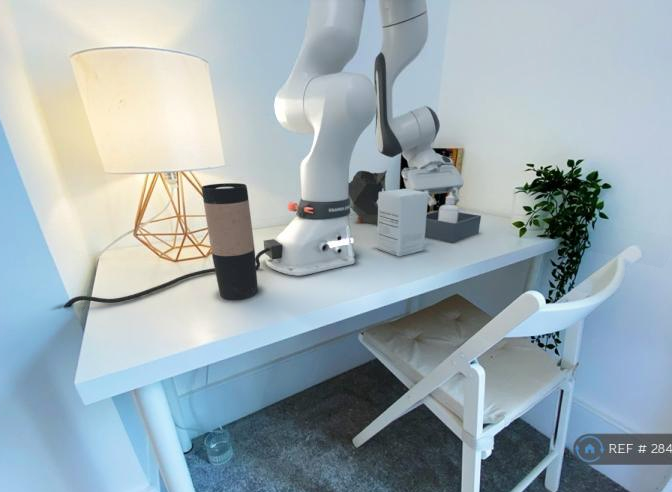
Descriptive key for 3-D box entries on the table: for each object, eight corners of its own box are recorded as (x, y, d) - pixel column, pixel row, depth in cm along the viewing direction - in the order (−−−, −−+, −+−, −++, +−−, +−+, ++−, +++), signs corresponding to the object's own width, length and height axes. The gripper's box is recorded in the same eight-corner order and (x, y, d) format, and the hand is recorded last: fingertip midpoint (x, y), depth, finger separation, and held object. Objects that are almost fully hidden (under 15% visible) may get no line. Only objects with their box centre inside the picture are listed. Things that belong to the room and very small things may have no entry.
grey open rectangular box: (452, 243, 95) (455, 223, 93) (413, 234, 104) (414, 216, 102) (478, 233, 104) (481, 215, 102) (440, 226, 113) (442, 209, 111)
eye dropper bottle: (450, 235, 101) (455, 193, 96) (434, 232, 104) (438, 192, 100) (458, 232, 103) (463, 192, 98) (442, 229, 107) (446, 190, 102)
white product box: (400, 243, 95) (404, 188, 89) (424, 251, 88) (430, 191, 82) (375, 248, 91) (377, 191, 85) (398, 257, 84) (402, 195, 78)
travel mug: (210, 294, 65) (190, 186, 57) (240, 281, 71) (227, 182, 63) (237, 304, 61) (220, 190, 53) (267, 289, 67) (256, 184, 59)
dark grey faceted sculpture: (366, 216, 129) (367, 166, 121) (399, 222, 118) (402, 168, 111) (339, 222, 120) (339, 168, 113) (372, 229, 110) (374, 171, 102)
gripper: (404, 161, 98) (424, 200, 95) (455, 158, 107) (475, 193, 104) (394, 175, 104) (412, 213, 100) (443, 172, 113) (462, 206, 109)
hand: (445, 203), depth 102 cm, fingers open, 8 cm apart
